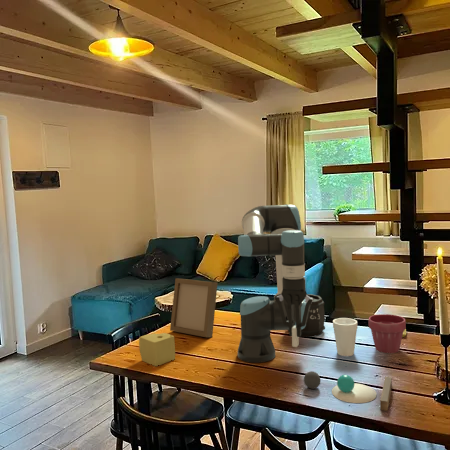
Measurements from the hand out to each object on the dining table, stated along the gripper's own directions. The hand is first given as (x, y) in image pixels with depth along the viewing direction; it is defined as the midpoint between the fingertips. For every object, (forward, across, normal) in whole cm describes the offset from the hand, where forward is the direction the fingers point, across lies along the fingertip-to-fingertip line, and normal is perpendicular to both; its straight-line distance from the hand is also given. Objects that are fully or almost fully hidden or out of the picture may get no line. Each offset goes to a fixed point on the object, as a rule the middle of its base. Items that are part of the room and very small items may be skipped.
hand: (295, 345), depth 157 cm
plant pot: (+14, +26, +43) cm, 52 cm away
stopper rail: (+14, +29, 0) cm, 32 cm away
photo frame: (+14, -59, +42) cm, 74 cm away
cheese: (+14, -58, +5) cm, 60 cm away
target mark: (+14, +19, 0) cm, 23 cm away
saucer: (+15, +28, +63) cm, 70 cm away
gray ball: (+11, +6, -1) cm, 12 cm away
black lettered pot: (+14, -11, +56) cm, 59 cm away
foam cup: (+14, +11, +34) cm, 38 cm away
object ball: (+11, +16, 0) cm, 20 cm away
